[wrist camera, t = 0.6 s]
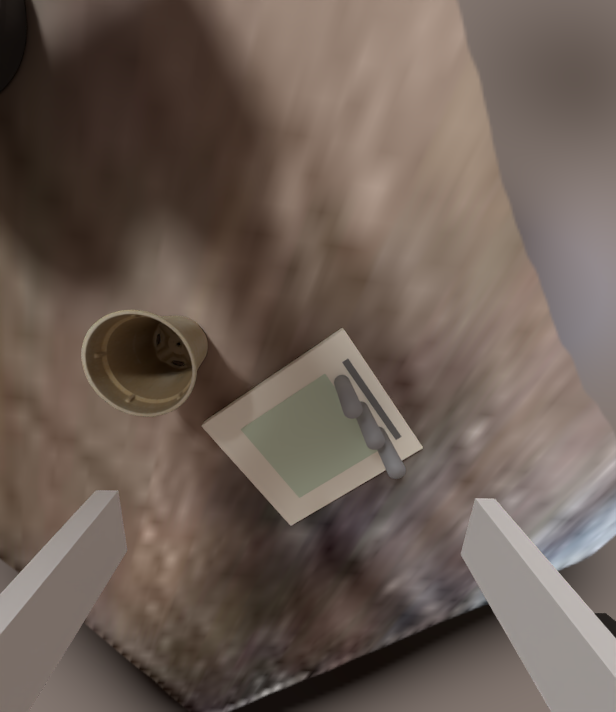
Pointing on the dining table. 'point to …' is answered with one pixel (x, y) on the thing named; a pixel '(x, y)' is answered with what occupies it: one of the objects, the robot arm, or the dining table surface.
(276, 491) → the board
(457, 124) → the dining table surface
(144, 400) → the flower pot
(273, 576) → the dining table surface
